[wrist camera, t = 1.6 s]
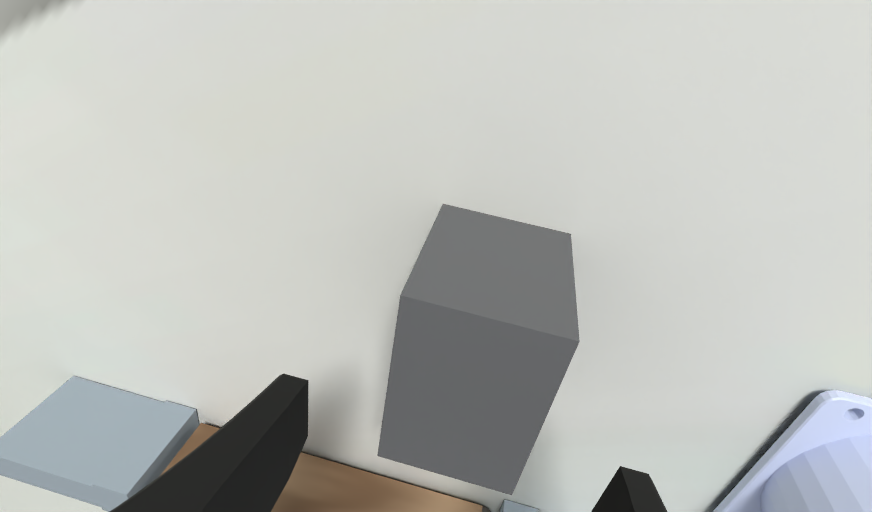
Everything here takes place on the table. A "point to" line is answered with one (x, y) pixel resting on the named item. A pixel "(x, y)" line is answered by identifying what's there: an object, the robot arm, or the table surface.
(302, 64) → the table surface
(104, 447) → the wall frame
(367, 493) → the door
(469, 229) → the grey rectangular prism
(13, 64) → the table surface
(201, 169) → the table surface
